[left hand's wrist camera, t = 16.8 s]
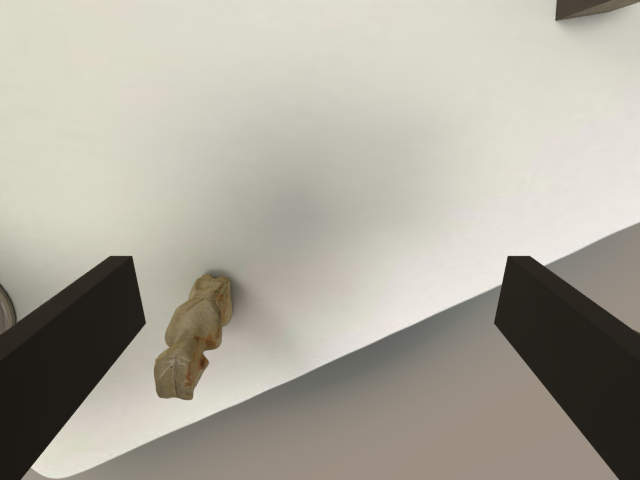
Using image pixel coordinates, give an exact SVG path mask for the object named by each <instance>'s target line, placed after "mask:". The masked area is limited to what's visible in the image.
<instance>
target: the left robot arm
mask: <svg viewBox="0 0 640 480" xmlns="http://www.w3.org/2000/svg"><path fill="white" fill-rule="evenodd" d="M145 324H146V321H145V316H144V311H143V307H142V302H141V297H140V292H139V287H138V282H137V277H136V272H135V268H134V263H133V258H132V256H110V257H108V258H107V259H105V260H104V261H103V262H101V263H100V264H98V265H97V266H96V267H94V268H93V269H91V270H90V271H89V272H87V273H86V274H84V275H83V276H82V277H80V278H79V279H77V280H76V281H75V282H73V283H72V284H70V285H69V286H68V287H66V288H65V289H64V290H62V291H61V292H59V293H58V294H57V295H55V296H54V297H52V298H51V299H50V300H48V301H47V302H45V303H44V304H43V305H41V306H40V307H38V308H37V309H36V310H34V311H33V312H31V313H30V314H29V315H27V316H26V317H24V318H23V319H22V320H20V321H19V322H17V323H16V324H15V314H14V310H13V307H12V304H11V302H10V300H9V298H8V296H7V295H6V293H5V292H4V290H3V289H2V288H1V287H0V480H21V479H22V477H23V476H24V475H25V474H26V472H27V471H28V470H29V469H30V467H31V466H32V465H33V464H34V462H35V461H36V460H37V459H38V457H39V456H40V455H41V454H42V452H43V451H44V450H45V449H46V447H47V446H48V445H49V444H50V442H51V441H52V440H53V439H54V437H55V436H56V435H57V434H58V432H59V431H60V430H61V429H62V427H63V426H64V425H65V424H66V422H67V421H68V420H69V419H70V417H71V416H72V415H73V414H74V412H75V411H76V410H77V409H78V407H79V406H80V405H81V404H82V402H83V401H84V400H85V399H86V397H87V396H88V395H89V394H90V392H91V391H92V390H93V389H94V387H95V386H96V385H97V384H98V382H99V381H100V380H101V379H102V377H103V376H104V375H105V374H106V372H107V371H108V370H109V369H110V367H111V366H112V365H113V364H114V362H115V361H116V360H117V359H118V357H119V356H120V355H121V354H122V352H123V351H124V350H125V349H126V347H127V346H128V345H129V344H130V342H131V341H132V340H133V339H134V337H135V336H136V335H137V334H138V332H139V331H140V330H141V329H142V327H143V326H144V325H145ZM494 324H495V325H496V326H497V327H498V329H499V330H500V331H501V332H502V334H503V335H504V336H505V337H506V339H507V340H508V341H509V342H510V344H511V345H512V346H513V347H514V349H515V350H516V351H517V352H518V354H519V355H520V356H521V357H522V359H523V360H524V361H525V362H526V364H527V365H528V366H529V367H530V369H531V370H532V371H533V372H534V374H535V375H536V376H537V377H538V379H539V380H540V381H541V382H542V384H543V385H544V386H545V387H546V389H547V390H548V391H549V392H550V394H551V395H552V396H553V397H554V399H555V400H556V401H557V402H558V404H559V405H560V406H561V407H562V409H563V410H564V411H565V412H566V414H567V415H568V416H569V417H570V419H571V420H572V421H573V422H574V424H575V425H576V426H577V427H578V429H579V430H580V431H581V432H582V434H583V435H584V436H585V437H586V439H587V440H588V441H589V442H590V444H591V445H592V446H593V447H594V449H595V450H596V451H597V452H598V454H599V455H600V456H601V457H602V459H603V460H604V461H605V462H606V464H607V465H608V466H609V467H610V469H611V470H612V471H613V472H614V474H615V475H616V476H617V477H618V479H619V480H640V333H639V332H637V331H635V330H632V329H631V328H629V327H628V326H627V325H625V324H624V323H623V322H621V321H620V320H618V319H617V318H616V317H614V316H613V315H611V314H610V313H609V312H607V311H606V310H604V309H603V308H601V307H600V306H599V305H597V304H596V303H595V302H593V301H592V300H590V299H589V298H588V297H586V296H585V295H583V294H582V293H581V292H579V291H578V290H576V289H575V288H574V287H572V286H571V285H570V284H568V283H567V282H565V281H564V280H563V279H561V278H560V277H558V276H557V275H556V274H554V273H553V272H551V271H550V270H549V269H547V268H546V267H544V266H543V265H542V264H540V263H539V262H537V261H536V260H535V259H533V258H532V257H530V256H508V258H507V263H506V267H505V272H504V277H503V282H502V287H501V292H500V297H499V302H498V307H497V311H496V317H495V321H494Z"/></svg>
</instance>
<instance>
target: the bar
mask: <svg viewBox="0 0 640 480" xmlns="http://www.w3.org/2000/svg"><path fill="white" fill-rule="evenodd" d="M637 2H640V0H557V11H556V20H562V19H568V18H574V17H580V16H586V15H593V14H599V13H605V12H610V11H613V10H616V9H619V8H622V7H625V6H628V5H631V4H634V3H637Z"/></svg>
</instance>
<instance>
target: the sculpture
mask: <svg viewBox="0 0 640 480" xmlns="http://www.w3.org/2000/svg"><path fill="white" fill-rule="evenodd" d="M231 317H232V299H231V293H230V278H228V277H224V276H220V277H218V278H213V276H212V275H202V276H201V278H198V279H197V280H196V282H195V284H194V286H193V288H192V290H191V292H190V295H189V299H188V301H187V302H185V303H184V304H182V305H181V306H179V307H178V308H177V309H176V310H175V312H174V314H173V317H172V319H171V321H170V324H169V326H168V328H167V331H166V334H165V341H166V344H167V345H168V346H169V348H168V349H167V350H165V351H164V352H163V353H162V354H160V355H159V356H158V357H157V359H156V360H155V367H154V377H155V383H156V392H157V394H158V396H159V397H160V398H172V397H176V398H180V399H184V400H192V399H193V391H194V388H195V387H196V385H197V383H198V381H199V379H200V377H201V375H202V374H203V372H204V370H205V369H206V368H207V366H208V364H209V361H208V360H207V358H206V357H205V356H204V354H203V352H204V351H206V350H213V349H216V348H218V347H219V346H220V344H221V341H222V327H223V326H226V325H227V324H228V323H229V321H230V320H231Z"/></svg>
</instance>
